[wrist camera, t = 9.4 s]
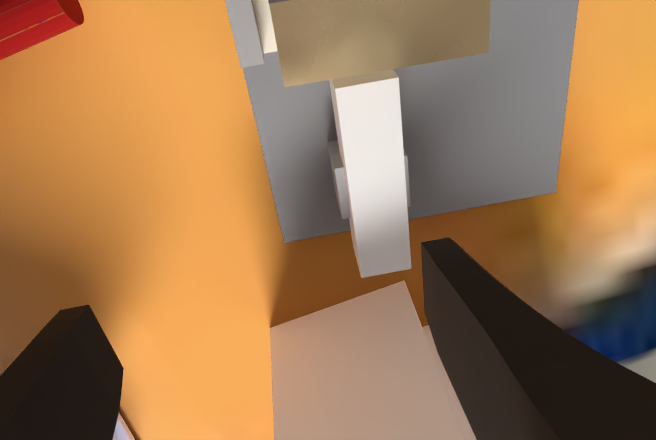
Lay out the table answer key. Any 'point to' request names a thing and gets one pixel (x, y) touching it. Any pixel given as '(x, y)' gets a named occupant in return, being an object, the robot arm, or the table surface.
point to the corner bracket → (363, 374)
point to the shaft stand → (411, 130)
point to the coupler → (373, 35)
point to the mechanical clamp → (35, 22)
